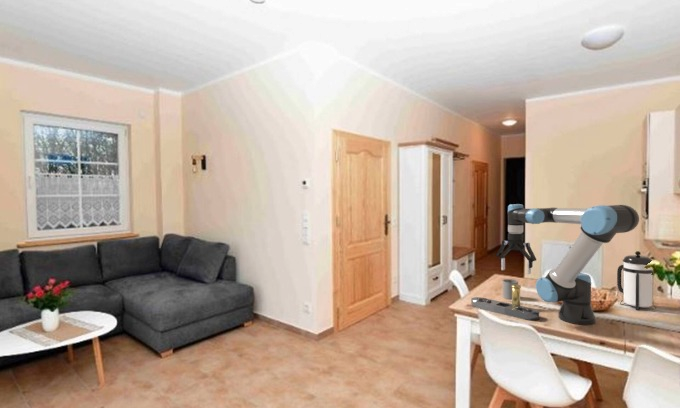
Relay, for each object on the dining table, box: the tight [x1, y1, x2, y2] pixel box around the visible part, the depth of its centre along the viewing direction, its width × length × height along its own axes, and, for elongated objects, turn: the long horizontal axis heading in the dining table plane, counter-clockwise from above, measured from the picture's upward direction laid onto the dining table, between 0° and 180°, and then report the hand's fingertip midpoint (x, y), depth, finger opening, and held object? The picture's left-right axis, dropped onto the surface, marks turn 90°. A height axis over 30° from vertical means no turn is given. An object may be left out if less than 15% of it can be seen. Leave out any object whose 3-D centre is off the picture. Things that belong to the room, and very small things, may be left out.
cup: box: [502, 278, 519, 301], centre depth 215 cm, size 8×8×10 cm
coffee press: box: [616, 250, 657, 311], centre depth 195 cm, size 17×16×30 cm
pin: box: [511, 284, 522, 306], centre depth 197 cm, size 5×5×12 cm
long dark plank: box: [470, 296, 540, 322], centre depth 191 cm, size 35×9×4 cm, turn 41°
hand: (515, 271), depth 197 cm, fingers open, 13 cm apart
